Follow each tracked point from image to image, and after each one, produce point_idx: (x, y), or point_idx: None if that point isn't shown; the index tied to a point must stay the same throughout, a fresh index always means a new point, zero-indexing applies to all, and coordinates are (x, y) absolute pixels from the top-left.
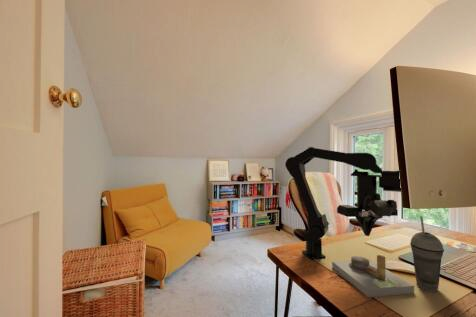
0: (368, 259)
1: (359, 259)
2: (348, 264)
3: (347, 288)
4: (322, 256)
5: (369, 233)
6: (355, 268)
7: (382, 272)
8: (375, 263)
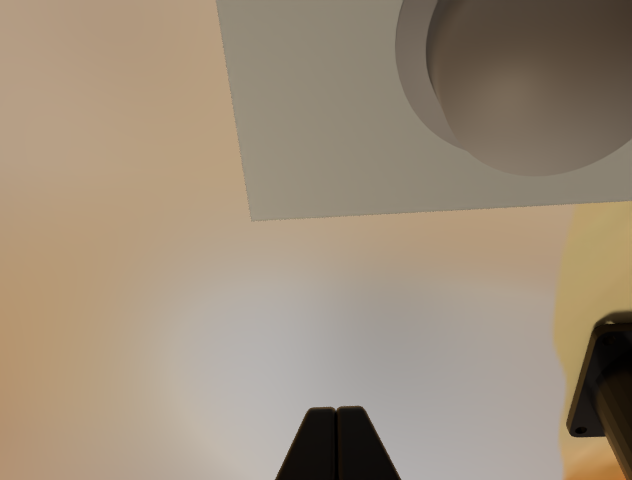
0: (263, 217)
1: (571, 70)
2: None
3: None
4: (629, 336)
5: (311, 449)
6: None
7: None
8: (246, 127)
